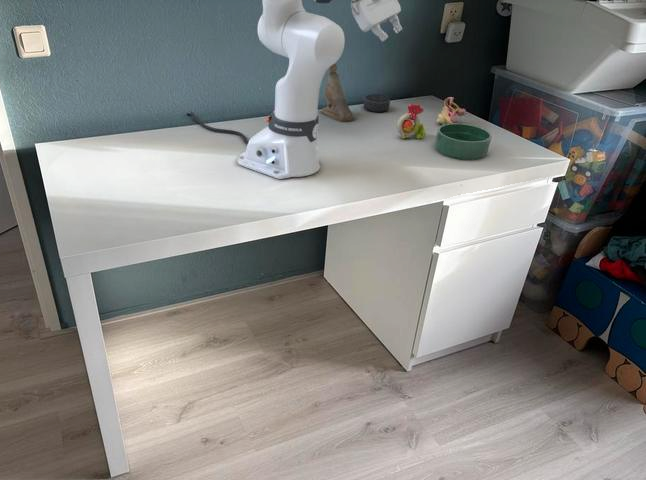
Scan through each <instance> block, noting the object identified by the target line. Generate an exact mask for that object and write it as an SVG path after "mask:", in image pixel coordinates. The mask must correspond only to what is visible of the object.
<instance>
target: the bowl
mask: <svg viewBox="0 0 646 480" xmlns="http://www.w3.org/2000/svg"><path fill="white" fill-rule="evenodd" d="M492 138H493V137H492V133H491V132H490V131H488V130H487V129H485V128H482V127H480V126H477V125H473V124H468V123H453V124H447V123H446V124H445V125H443V124H441V125H440V126H439V127H438V128H437V131H436V135H435V141H434V147H435V149H436V150H437V151H438V153H440V154H442V155H444V156H445V157H449V158H451V159H455V160H462V161H463V160H465V161H472V160H480V159H482V158H484V157H485V156H487V154H488V153H489V150H490V145H491V141H492Z"/></svg>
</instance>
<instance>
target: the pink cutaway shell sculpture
mask: <svg viewBox="0 0 646 480" xmlns="http://www.w3.org/2000/svg"><path fill="white" fill-rule="evenodd" d="M454 99H455V97H452V96H450V97H446V98H445V99H444V101H443V102H444V103H443V104H444V106H443V107H442V110H441V113H439V114H438V115H437V117H438V118H437V119H436V122H437V123H438V124H441V125H445V124H454V123H457V122H458V121H457V118H456V116H458V117H462V116H465V115H466V112H467V111H466V109H465V108H460V107H459V105H457V104H456V103H455V102H453V101H454Z"/></svg>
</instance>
